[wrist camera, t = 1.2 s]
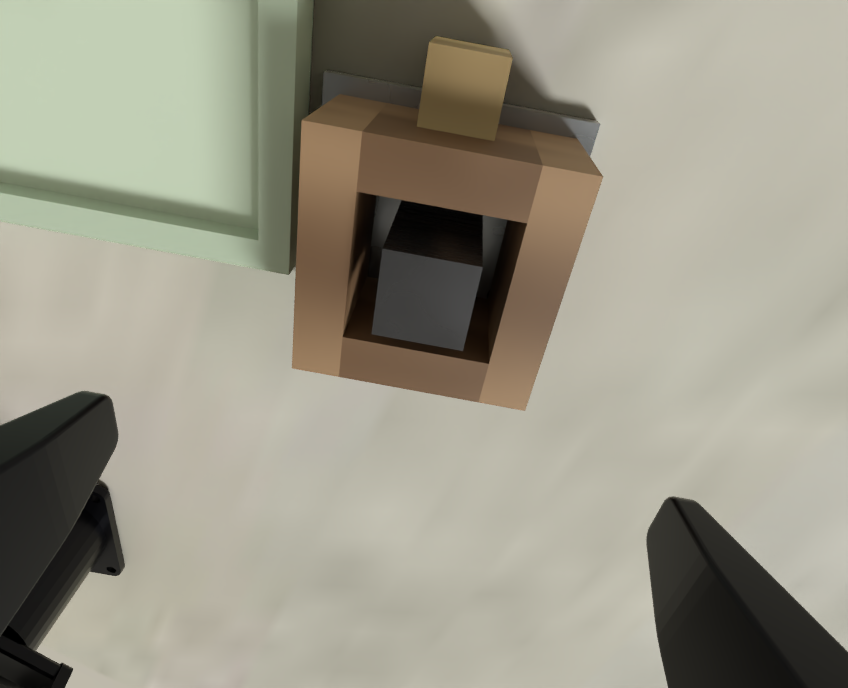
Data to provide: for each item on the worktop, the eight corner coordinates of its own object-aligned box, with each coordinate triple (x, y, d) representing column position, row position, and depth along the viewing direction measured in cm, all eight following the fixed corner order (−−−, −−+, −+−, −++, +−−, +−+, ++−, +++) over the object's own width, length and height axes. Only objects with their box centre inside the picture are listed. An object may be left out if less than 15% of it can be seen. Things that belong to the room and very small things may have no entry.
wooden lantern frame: (517, 340, 20) (524, 410, 16) (324, 304, 20) (291, 368, 16) (599, 66, 15) (632, 87, 12) (345, 18, 15) (305, 25, 12)
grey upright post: (526, 346, 21) (539, 449, 16) (313, 307, 20) (264, 398, 16) (597, 120, 16) (643, 170, 12) (327, 69, 16) (265, 99, 12)
